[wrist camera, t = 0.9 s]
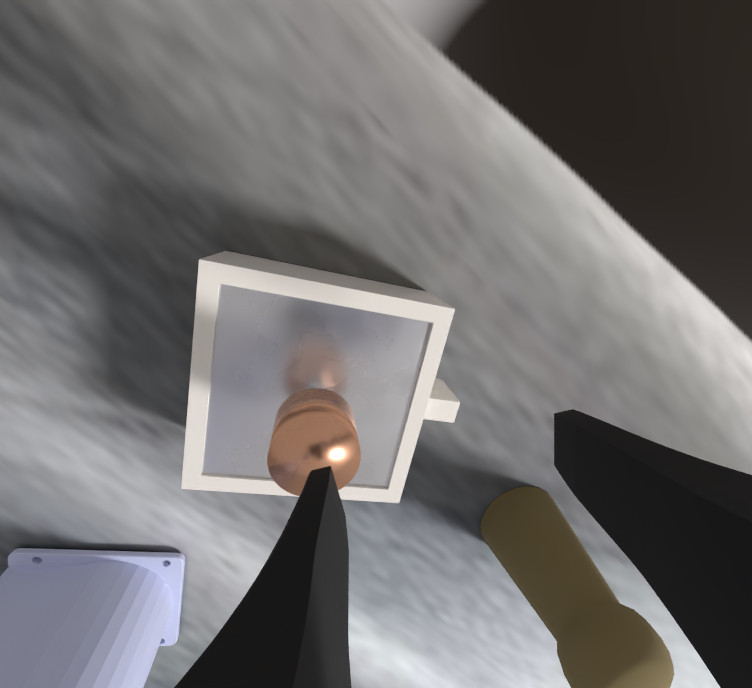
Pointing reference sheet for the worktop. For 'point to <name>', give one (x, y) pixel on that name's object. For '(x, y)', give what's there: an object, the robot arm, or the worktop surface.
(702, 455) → the worktop surface
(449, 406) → the white shallow open box
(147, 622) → the robot arm
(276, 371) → the copper knob lid
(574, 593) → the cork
